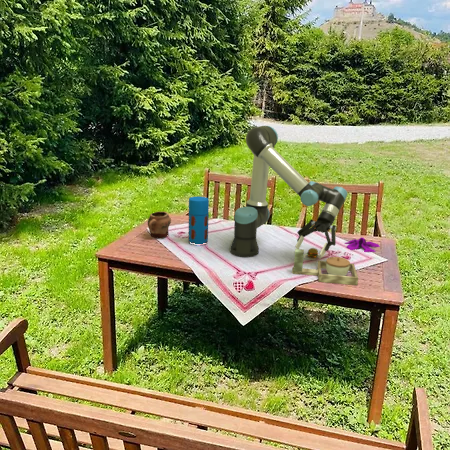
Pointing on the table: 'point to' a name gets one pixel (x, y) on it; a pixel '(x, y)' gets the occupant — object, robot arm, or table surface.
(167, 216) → the decorative planter
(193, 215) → the thermos
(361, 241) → the cloth
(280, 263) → the table surface
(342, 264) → the lidded jar
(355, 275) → the pull frame
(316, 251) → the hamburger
